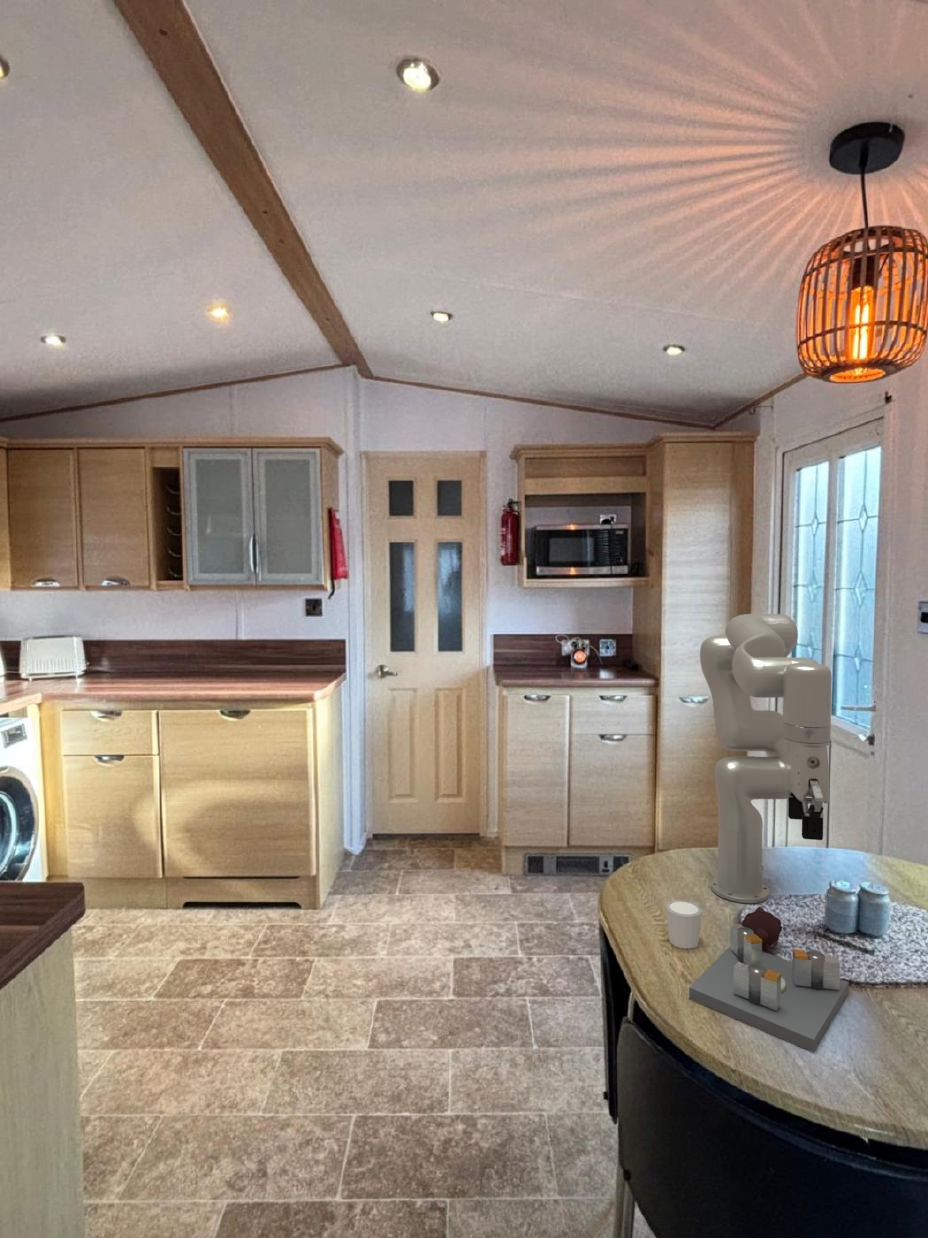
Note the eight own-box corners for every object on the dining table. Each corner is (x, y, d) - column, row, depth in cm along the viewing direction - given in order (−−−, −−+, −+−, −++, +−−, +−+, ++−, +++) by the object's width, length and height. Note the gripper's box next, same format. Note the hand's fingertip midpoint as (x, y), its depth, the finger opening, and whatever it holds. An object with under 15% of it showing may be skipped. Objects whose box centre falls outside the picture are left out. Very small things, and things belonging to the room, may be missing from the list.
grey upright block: (728, 949, 129) (728, 922, 129) (741, 947, 130) (742, 920, 129) (749, 969, 122) (749, 941, 122) (763, 968, 123) (763, 940, 122)
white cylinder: (704, 952, 132) (704, 917, 132) (667, 949, 134) (667, 914, 133) (699, 934, 139) (699, 901, 139) (664, 931, 140) (664, 898, 140)
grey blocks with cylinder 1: (732, 994, 115) (732, 964, 115) (738, 987, 117) (739, 957, 117) (775, 1012, 110) (775, 980, 110) (781, 1004, 112) (781, 973, 112)
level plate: (734, 951, 132) (734, 935, 132) (848, 993, 119) (849, 975, 118) (689, 998, 118) (689, 980, 118) (813, 1052, 104) (813, 1031, 104)
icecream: (737, 893, 143) (738, 934, 129) (774, 890, 140) (780, 931, 126) (745, 924, 143) (748, 968, 130) (783, 921, 141) (789, 966, 127)
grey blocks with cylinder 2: (834, 981, 118) (835, 952, 118) (840, 991, 116) (840, 961, 115) (791, 977, 120) (792, 948, 119) (795, 986, 117) (796, 956, 117)
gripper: (845, 746, 110) (843, 849, 111) (815, 723, 127) (814, 813, 128) (795, 744, 112) (793, 846, 113) (772, 722, 129) (771, 811, 130)
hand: (804, 828), depth 120 cm, fingers open, 9 cm apart
